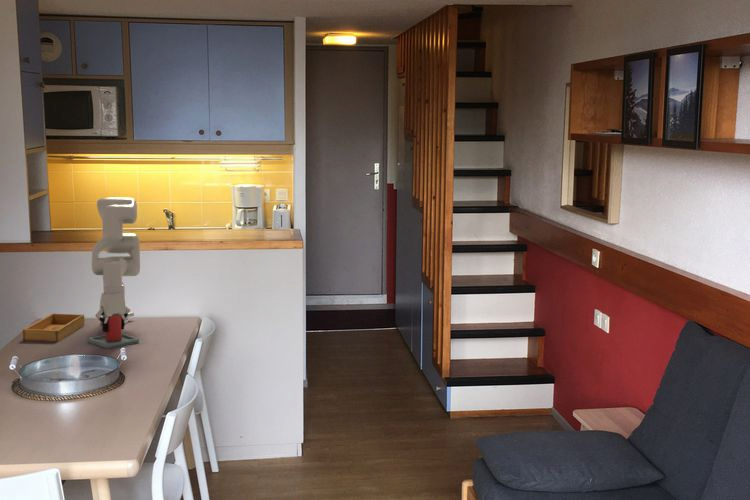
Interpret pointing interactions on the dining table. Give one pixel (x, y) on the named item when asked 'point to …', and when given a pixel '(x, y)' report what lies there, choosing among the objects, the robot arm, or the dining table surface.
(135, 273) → the robot arm
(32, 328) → the tray
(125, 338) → the slate tray
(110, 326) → the beer can
